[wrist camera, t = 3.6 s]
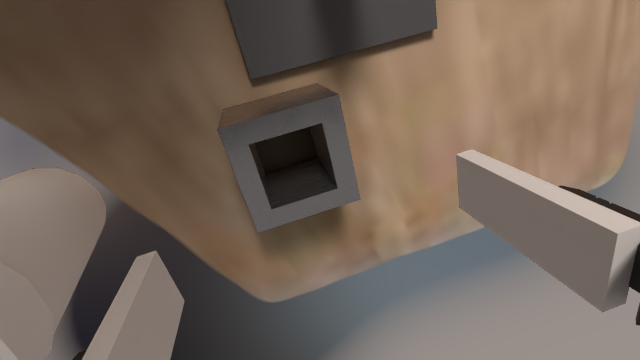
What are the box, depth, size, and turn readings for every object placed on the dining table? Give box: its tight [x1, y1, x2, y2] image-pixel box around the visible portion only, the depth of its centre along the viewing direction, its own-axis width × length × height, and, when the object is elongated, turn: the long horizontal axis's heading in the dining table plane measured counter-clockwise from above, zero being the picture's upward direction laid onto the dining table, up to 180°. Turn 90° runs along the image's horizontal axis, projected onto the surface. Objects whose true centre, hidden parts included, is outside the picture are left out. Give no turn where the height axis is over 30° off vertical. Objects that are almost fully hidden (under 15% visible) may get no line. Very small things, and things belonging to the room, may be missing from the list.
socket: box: [217, 83, 360, 233], centre depth 22 cm, size 7×7×6 cm
